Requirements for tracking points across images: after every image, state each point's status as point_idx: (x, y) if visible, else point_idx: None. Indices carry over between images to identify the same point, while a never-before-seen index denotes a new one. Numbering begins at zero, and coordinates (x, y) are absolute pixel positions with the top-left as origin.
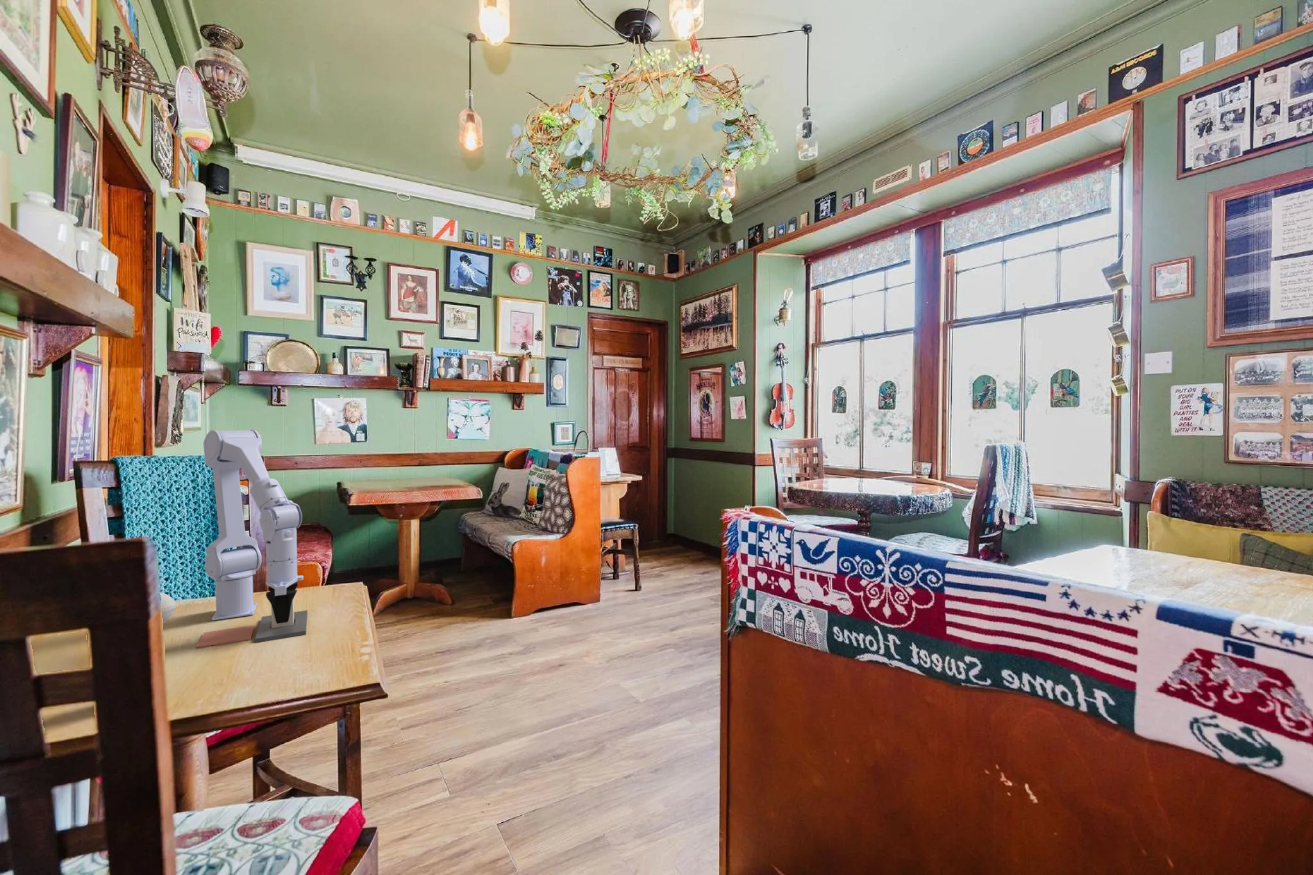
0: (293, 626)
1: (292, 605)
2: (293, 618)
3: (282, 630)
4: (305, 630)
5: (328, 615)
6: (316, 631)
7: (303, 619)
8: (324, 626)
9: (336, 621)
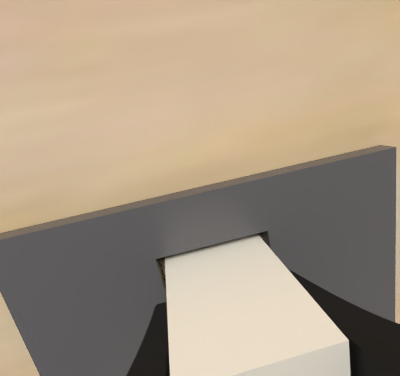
0: (295, 228)
1: (323, 314)
2: (241, 258)
3: (337, 259)
4: (392, 149)
5: (67, 93)
6: (357, 103)
7: (187, 212)
8: (291, 75)
9: (220, 16)
